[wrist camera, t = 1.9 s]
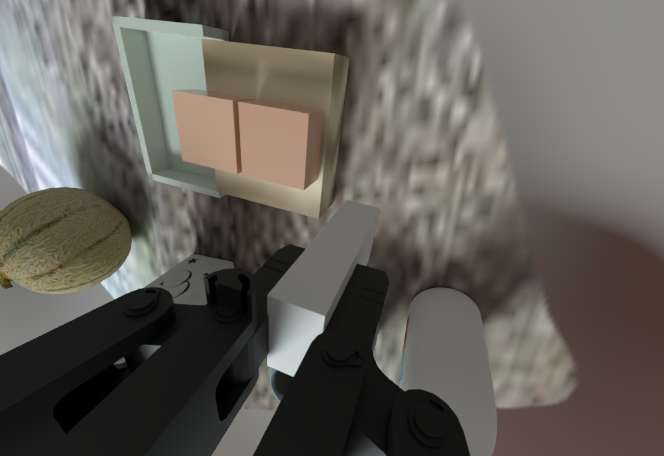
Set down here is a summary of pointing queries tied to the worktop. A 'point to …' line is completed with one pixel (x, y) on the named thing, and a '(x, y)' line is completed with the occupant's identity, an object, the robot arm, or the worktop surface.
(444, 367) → the milk bottle
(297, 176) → the tile
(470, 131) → the worktop surface
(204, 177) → the tray
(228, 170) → the tile
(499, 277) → the worktop surface
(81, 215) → the cantaloupe
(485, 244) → the worktop surface
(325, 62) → the board
